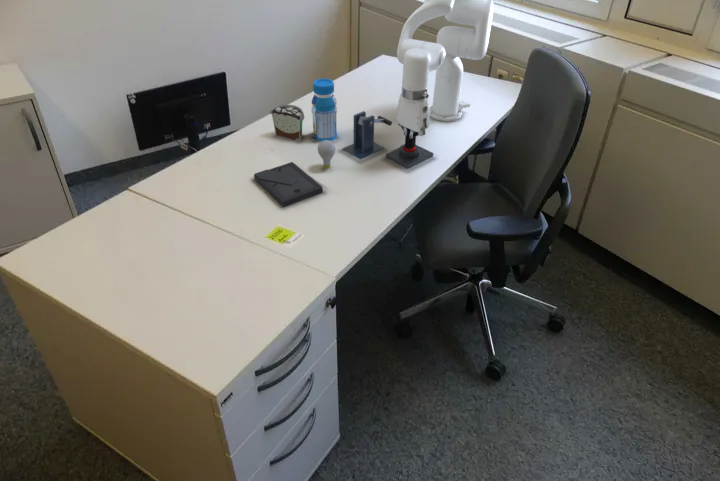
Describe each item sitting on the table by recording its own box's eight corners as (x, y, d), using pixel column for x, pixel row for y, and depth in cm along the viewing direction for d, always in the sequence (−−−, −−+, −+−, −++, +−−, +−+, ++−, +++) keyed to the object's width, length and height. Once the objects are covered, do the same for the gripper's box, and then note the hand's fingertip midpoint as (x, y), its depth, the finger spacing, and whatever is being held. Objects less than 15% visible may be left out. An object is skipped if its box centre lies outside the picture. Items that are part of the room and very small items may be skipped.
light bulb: (329, 176, 168) (328, 147, 161) (315, 171, 170) (313, 142, 164) (339, 168, 171) (338, 139, 165) (325, 163, 173) (324, 135, 167)
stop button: (409, 148, 176) (409, 143, 175) (417, 152, 174) (418, 147, 173) (401, 151, 175) (402, 146, 173) (409, 155, 172) (410, 150, 171)
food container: (312, 135, 188) (310, 108, 182) (303, 142, 184) (301, 115, 178) (281, 127, 192) (279, 101, 186) (272, 135, 188) (269, 108, 182)
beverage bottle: (325, 146, 182) (323, 89, 170) (307, 138, 187) (304, 82, 174) (342, 138, 187) (342, 82, 175) (325, 130, 191) (323, 75, 179)
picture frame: (254, 179, 165) (283, 207, 154) (253, 173, 164) (282, 200, 153) (292, 167, 171) (322, 192, 160) (292, 160, 170) (322, 186, 159)
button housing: (410, 147, 182) (411, 137, 180) (432, 159, 177) (434, 148, 174) (385, 159, 176) (385, 148, 173) (407, 171, 170) (408, 160, 168)
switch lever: (379, 121, 183) (381, 114, 182) (391, 127, 180) (393, 120, 179) (354, 121, 174) (355, 114, 173) (365, 127, 171) (367, 120, 170)
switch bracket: (366, 141, 186) (366, 106, 178) (384, 150, 180) (386, 115, 172) (341, 151, 180) (341, 116, 172) (360, 162, 174) (361, 125, 167)
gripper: (441, 96, 160) (435, 152, 171) (404, 81, 168) (400, 135, 180) (424, 103, 156) (419, 159, 167) (387, 88, 164) (384, 142, 175)
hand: (409, 147), depth 173 cm, fingers closed
